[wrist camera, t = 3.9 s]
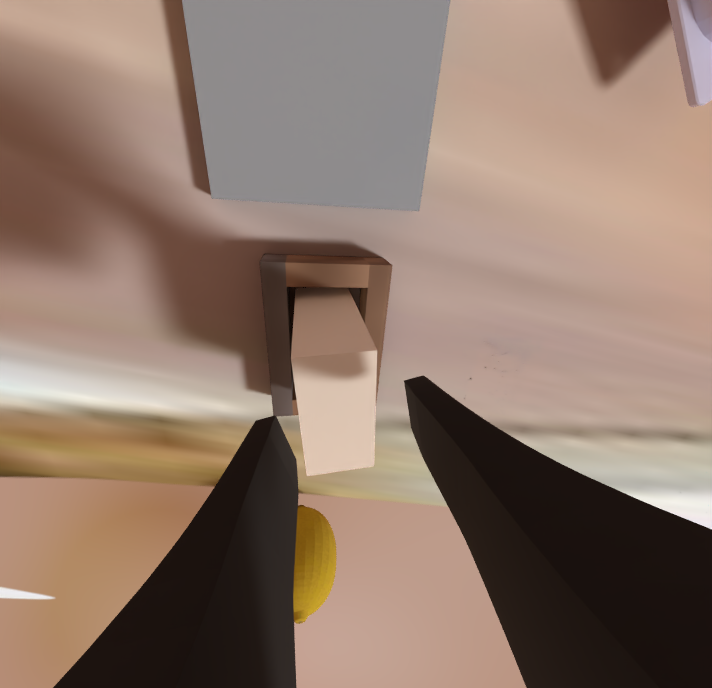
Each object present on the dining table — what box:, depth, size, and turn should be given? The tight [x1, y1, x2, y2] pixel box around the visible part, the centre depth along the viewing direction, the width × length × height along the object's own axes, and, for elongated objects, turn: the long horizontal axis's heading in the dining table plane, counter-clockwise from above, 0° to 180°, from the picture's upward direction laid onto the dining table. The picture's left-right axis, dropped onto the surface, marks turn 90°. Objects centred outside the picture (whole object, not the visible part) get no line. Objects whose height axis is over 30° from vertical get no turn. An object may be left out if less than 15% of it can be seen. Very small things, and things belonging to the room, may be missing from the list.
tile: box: [182, 0, 450, 211], centre depth 12 cm, size 10×10×1 cm
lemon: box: [293, 505, 336, 624], centre depth 22 cm, size 6×6×8 cm
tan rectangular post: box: [291, 287, 377, 476], centre depth 15 cm, size 3×6×8 cm, turn 1°
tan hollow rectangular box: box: [260, 254, 392, 416], centre depth 17 cm, size 7×10×2 cm
